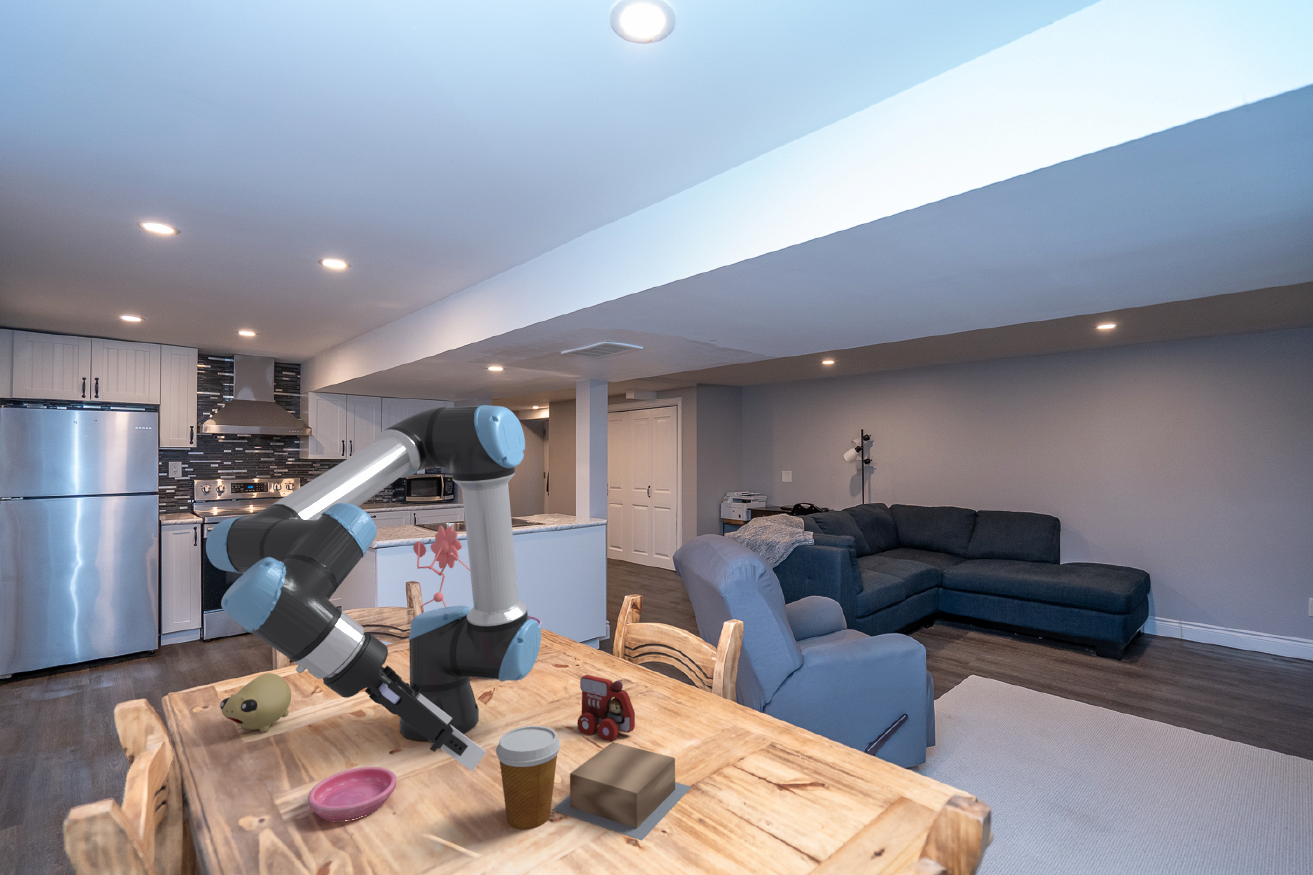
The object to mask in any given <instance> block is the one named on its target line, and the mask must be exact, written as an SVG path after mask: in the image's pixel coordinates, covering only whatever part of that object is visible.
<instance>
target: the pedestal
mask: <svg viewBox="0 0 1313 875" xmlns="http://www.w3.org/2000/svg"><path fill="white" fill-rule="evenodd" d="M675 782H676V757H673V756H669V755H666V754H661V753H657V752H653V751H649V750H645V749H641V748H637V747H634V746H629V745H626V744H622V743H618V742H614V741H611V743H609V744H608V745H607V746H605V747H604V748H603V749H601V750H600V751H598V752H597V753H595V755H593V756H591V757H590V758H588V759H587V760H586V761H585V762H583V763H582V764H581V765H580V766H578V767H576V768H575V769H574V770H573V771H571V772H570V773H569V796H570V807H573V808H576V809H579V810H582V811H585V812H588V813H591V814H594V815H597V816H600V817H603V818H607V819H610V820H613V821H616V822H619V823H622V824H625V825H628V826H631V827H634V828H638V827H639V826H640V825H641V824H642V823H643V822H644V821H645V820H646V819H647V818H648V817H649V816H650V815H651V814H652V813H653V812H654V811H655V810H656V809H657V808H658V807H659V806H660V805H661V804H662V802H663V801H664V800H665V799H666V798H667V797H668V796H669V795H670V794H671V793H672V792H673V791H674V790H675Z"/></svg>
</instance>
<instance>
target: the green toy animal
mask: <svg viewBox="0 0 1313 875" xmlns="http://www.w3.org/2000/svg"><path fill="white" fill-rule="evenodd" d="M291 700H292V690H291V687H290V685H289V683H288V682H287V680H285V679H284V677H282V676H280V675H278V674H276V673H272V672H270V673H269V672H267V673H264V674H261V675H259V676H257V677H256V678H254V679H253V680H251V681H250V682H248V683H247V684H246V685H244V686H243V687H242V688H240V689H239V691H238V692H236V693H233V694H231V695H230V697H226V698H223V699H222V701H221V702H220V704H219V706H220V710H221V714H222V715H223V717H225V718H226V719H228V720H230V721H232V722H234V723H236V724H237V725H238V726H239V727H240V728H241V729H242V730H250V731H255V730H259V732H261V733H263V734H264V733H267V732H268V731H269V728H270V727H271V725H272V724H274V723H275V722H277V721H279V719H281V718H286V717H287V716H288V715H289V713H290V712H289V710H288V709H289V706H290V704H291Z"/></svg>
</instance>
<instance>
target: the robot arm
mask: <svg viewBox="0 0 1313 875" xmlns="http://www.w3.org/2000/svg"><path fill="white" fill-rule="evenodd" d="M525 451H526V440H525V435H524V430H523V428H522V425H521V422H520V421H519V418H518V417H517V415H515V413H514V412H513V411H512V410H510V408H509V409H508V408H507V407H505V406H501V405H489V404H488V405H487V404H486V405H484V404H483V405H470V406H455V407H454V406H453V407H452V406H451V407H447V406H446V407H443V406H442V407H433V408H429V409H426V410H423V411H420V412H418V413H415V414H413V415H411V416H408V417H406V418H404V419H402V420H400V421H398V422H397V423H394V424H392V425H390V426H389V427H387V428H385V429H384V430H382V431H380V432H379V433H378V434H376V436H375V437H374V439H373V443H371V444H370V445H367V446H366V447H364V448H363V449H362V450H360V451H358V452H356V453H355V454H353V455H352V456H350V457H348V458H347V459H345V460H343V461H341V463H338V464H337V465H335V466H334V467H332V468H330V469H328V470H327V471H325V472H324V473H322V474H320V475H319V476H317V477H315V478H314V479H312V480H310V481H309V482H307V483H306V484H304V485H302V486H300V487H298V488H297V489H295V490H293V491H292V492H290V493H289V494H287V495H286V496H284V497H282V498H281V499H279V500H277V501H275V502H274V503H273V504H271V505H270V506H267V507H266V508H263V509H262V510H260V511H259V512H257V513H256V514H254V515H251V516H249V517H246V516H238V517H232V518H227V519H223V520H221V521H220V522H218V523H216V525H215V526H213V528H212V529H211V531H210V532H209V534H208V536H207V538H206V543H205V552H206V556H207V558H208V559H209V562H210V563H211V564H212V565H213V566H214V567H215V568H217V569H218V570H221V571H226V572H232V573H236V574H242V575H241V576H240V577H239V578H237V579H236V580H235V581H234V583H232V585H230V587H229V588H228V589H227V590H226V592H225V593H224V595H223V596H222V598H221V602H220V603H221V604H220V605H221V606H220V607H221V609H222V610H223V611H224V612H225V613H226V614H227V615H228V616H229V617H230V618H231V619H232V620H233V621H235V622H236V623H237V624H239V626H241V627H243V629H244V630H245V631H246V632H248V633H251V634H253V635H254V636H255V637H257V638H258V639H259V640H262V641H263V642H264V643H266V644H267V645H269V646H270V647H272V648H273V649H275V650H276V651H278V652H279V653H280V654H282V655H284V656H285V657H286V658H288V659H289V660H290V661H291V662H294V663H295V664H296V665H297V666H296V668H295V670H296V672H297V673H298V674H302V673H304V671H306V670H307V672H308V673H309V674H310V675H312V676H313V677H315V678H316V679H317V680H323V682H322V683H323V685H325V686H326V687H328V688H329V689H330V690H332V691H333V692H335V693H336V694H337V695H339V696H340V697H341V698H343V699H344V698H345V699H347V698H351V697H354V696H355V695H357V694H359V693H360V692H361V691H362V690H364V689H365V690H364V692H365V693H366V694H367V695H368V697H369V698H370V699H371V700H372V701H373V702H374V703H376V704H378V705H381V706H383V707H384V708H385V710H387V711H388V712H389V713H391V714H392V715H395V716H397V717H398V718H400V721H399V731H400V734H401V735H402V736H403V737H404V738H407V739H409V740H414V741H422V742H423V741H426V742H427V741H428V742H430V743H431V744H432V745H431V746H430V748H429V749H430V751H432V752H434V753H435V752H436V751H437V750H439V749H440V750H442V751H444V753H446V754H448V755H449V756H450V757H452V758H453V759H454V760H456V761H457V762H458V763H460V764H461V765H462V766H464V767H465V768H467V769H468V770H469V771H471V772H474V770H475V769H476V767H477V766H478V765H479V763H480V762H481V761H482V759H483V758H484V756H485V755H486V754H487V751H486V750H485V749H483V748H482V747H481V746H480V745H478V744H477V743H476V742H474V741H473V740H472V739H470V738H469V737H468V736H466V735H465V734H464V733H466V732H468V731H471V730H472V729H473V728H474V727H475V726H477V724H478V722H479V718H480V716H479V713H480V712H479V705H478V704H477V701H476V697H475V694H474V690H473V688H472V685H471V678H475V679H486V680H496V681H497V680H498V681H499V682H505V681H512V682H513V681H514V682H515V681H517V682H518V681H521V680H523V679H524V678H526V677H527V676H528V675H529V673H530V672H531V671H532V669H533V667H534V666H535V664H536V661H537V659H538V656H539V652H540V648H541V641H542V627H541V628H540V625H539V624H538V622H537V621H536V620H533V619H528V616H529V614H528V607H527V605H526V603H525V602H523V601H521V600H520V598H519V592H518V591H519V588H518V579H517V569H516V557H515V555H516V554H515V545H514V536H513V535H514V534H513V523H512V513H511V510H512V509H511V502H510V491H509V481H511V479H512V478H513V477H514V476H515V474H516V469H515V467H518V466H519V465H520V464H521V463H522V461H523V460H524V456H525V454H524V452H525ZM434 468H435V469H436V468H444V469H445V468H446V469H447V468H449V469H451V476H452V477H451V478H452V481H453V482H454V483H455V484H457V485H458V486H459V487H460V489H461V491H462V503H463V512H464V523H465V532H466V542H467V554H468V562H469V569H470V571H469V572H470V582H471V590H472V591H471V592H472V603H473V607H472V608H471V609H470V606H466V605H455V606H454V605H452V606H446V607H445V606H444V607H440V608H436V609H432V610H427V611H423V613H422V612H420V613H419V614H417V615H415V616H414V617H413V618H412V620H411V622H410V626H409V637H408V641H409V644H408V645H409V682H405V681H404V680H403V679H402V677H401V676H400V675H399V674H397V672H396V671H395V670H394V669H393V668H392V667H390V666H389V665H386V666H385V667H384V666H383V665H384V664H385V663H386V662H387V658H388V654H389V648H388V646H387V645H386V644H385V643H384V642H382V641H381V640H380V639H378V638H377V637H375V636H374V635H373V634H371V633H370V632H365V628H364V627H363V626H362V625H361V624H360V623H358V622H357V621H356V620H355V619H354V618H352V617H351V616H349V615H348V614H347V613H346V612H344V611H343V610H342V609H340V608H339V607H337V606H336V605H335V604H334V603H332V601H330V599H331V597H332V596H333V595H334V593H335V592H336V591H337V589H338V588H340V586H341V585H342V584H343V581H345V579H347V577H348V575H349V574H350V573H351V572H352V571H353V569H354V568H355V567H356V566H357V564H358V563H359V562H360V561H361V559H363V558H364V557H365V556H366V553H367V551H368V550H369V547H371V545H372V543H373V542H374V540H375V538H376V537H377V531H378V530H377V525H376V523H375V521H373V518H372V517H371V515H370V514H369V513H368V512H366V511H365V510H364V509H362V508H361V507H360V506H361V505H363V504H364V503H366V502H367V501H368V500H370V499H371V498H373V497H374V496H376V495H377V494H378V493H380V492H381V491H383V490H384V489H385V488H386V487H388V486H389V485H391V484H393V483H394V482H395V481H397V480H398V479H399V478H401V479H402V478H403V479H405V478H409V477H411V476H414V475H415V474H416V473H417V472H419V471H423V470H425V469H434Z"/></svg>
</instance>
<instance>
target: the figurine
mask: <svg viewBox="0 0 1313 875" xmlns="http://www.w3.org/2000/svg"><path fill="white" fill-rule="evenodd" d="M453 529H454V528H453V526H452V525H450V526H448V527H447V528H446V529H445V528H444V527H443V525H439V527H438V529H437V532H436V533H435V534H434V539H435V542H433V543H432V544H430V547H429V548H430V550H431V551H432V552H433V553H434V554H435V555H434V558H433V561H432V562H431V564H430V565H428V566H426V565H425V566H420V558H422V557H424V556H425V555H426V552H427V548H426V545H425V544H424V542H423V543H422V541H421V540H418V541H416V542H415V543H414V544H413V552H414V553H415V554H416V556H417V561H416V567H417V568H416V569H429V570H432V571H433V572H434V573H435V574H437V575H438V576H440V577H441V576H442V579H441V582H440V587H439V591H438V592H436V593H435V594H434V595H433V598H432V599H431V600H429V601H427V602H425V603H423V604H421V605H420V611H421V612H420V613H424V611H423V607H424V606H426V605H427V604H429V603H431V602H433V601H434V602H436V603H441V602H442V604H443V606H444V608H445V607H447V605H446V603H445V600H444V594H443V593H442V592H441V591H442V587H443V584H444V581H445V577H446V576H445V574H444V573H443V572H444V571H445V569H446V567H447V566H448V567H449V568H450V569H453V568H454V566H455V562H456V561H458V562H459V563H460V564H461V565H463V567H465V568H466V569H467V570H468V571H469V572H470V567H468V566H467V565H466V564H465V563H464V562H463V561H462V560H461V559H459V552H458V551H459V550H462V547H463V545H462V543H461V541H460V540H459V539H458V538H457V537H458V531H456V530H453ZM436 562H438V567H439V569H441V570H440V571H439V570H438V569H436V568H433V567H434V565H435V563H436Z"/></svg>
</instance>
